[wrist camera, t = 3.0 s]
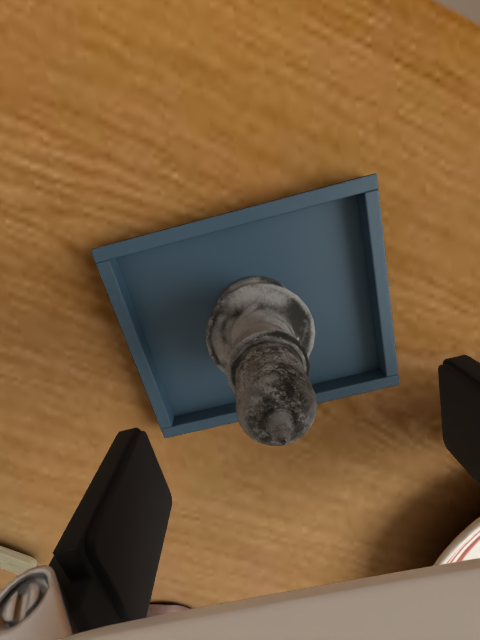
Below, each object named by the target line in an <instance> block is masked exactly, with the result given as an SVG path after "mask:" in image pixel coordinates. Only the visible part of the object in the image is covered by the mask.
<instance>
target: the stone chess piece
mask: <svg viewBox="0 0 480 640" xmlns="http://www.w3.org/2000/svg"><path fill="white" fill-rule="evenodd" d="M314 339H315V327H314V320H313V318H312V315H311V313H310V311H309V309H308V307H307V306H306V305H305V303H304V302H303V301H302V300H301V299H300V298H299V296H297V295H296V294H294V293H293V292H291V291H290V290H288V289H287V288H286V287H285V286H284V285H282V284H281V283H279V282H278V281H276V280H274V279H271V278H268V277H265V276H251V277H246V278H242V279H240V280H238V281H236V282H234V283H232V284H231V285H230V286H229V287H228V288H227V289H226V290H224V292H223V293H222V295H221V296H220V298H219V299H218V302H217V305H216V307H215V308H214V310H213V311H212V313H211V315H210V318H209V321H208V324H207V327H206V343H207V347H208V351H209V355H210V356H211V358H212V360H213V361H214V363H215V365H216V366H217V367H218V368H219V369H220V370H221V371H222V372H223V373H224V374H225V375H227V379H228V383H229V385H230V387H231V389H232V391H233V392H234V393H235V394H236V413H237V417H238V421H239V423H240V425H241V427H242V429H243V430H244V432H245V433H246V434H247V435H248V436H249V437H250V438H252V439H253V440H255V441H257V442H259V443H262V444H265V445H269V446H282V445H287V444H290V443H292V442H294V441H296V440H298V439H299V438H300V437H302V436H303V435H304V434H305V433H306V432H307V431H308V430H309V429H310V427H311V426H312V424H313V422H314V420H315V418H316V412H317V401H316V394H315V392H314V390H313V387H312V385H311V383H310V381H309V379H308V377H309V371H310V363H309V355H310V353H311V351H312V348H313V346H314Z"/></svg>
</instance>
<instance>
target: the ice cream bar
mask: <svg viewBox="0 0 480 640" xmlns="http://www.w3.org/2000/svg"><path fill="white" fill-rule="evenodd" d="M36 566H37V561H36V560H35V559H34V558H32V557H30V556H27V555H24V554H22V553H19V552H16V551H13V550H11V549H8V548H5V547H2V546H0V568H2V569H4V570H7V571H10V572H13V573H16V574H19V575H20V574H21V573H23V572H25V571H26V570H28V569H31V568H33V567H36Z"/></svg>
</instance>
